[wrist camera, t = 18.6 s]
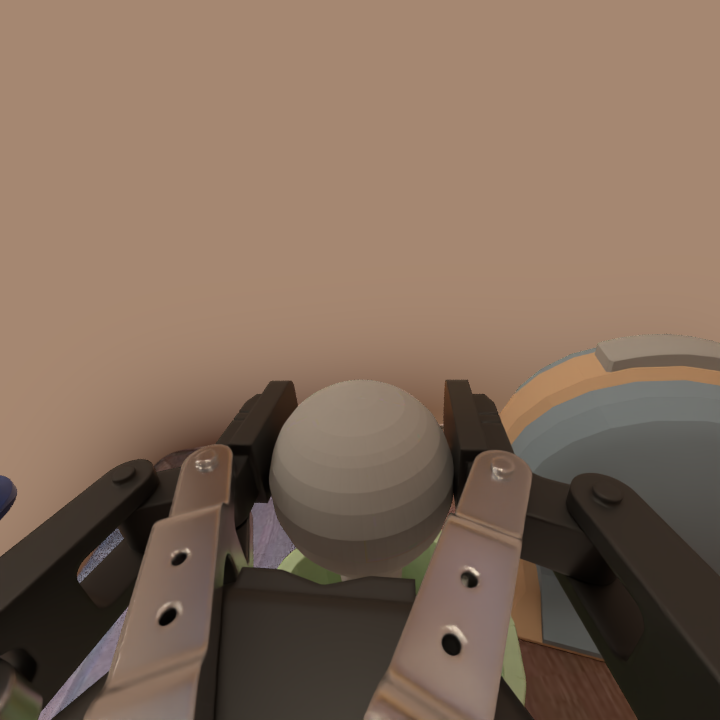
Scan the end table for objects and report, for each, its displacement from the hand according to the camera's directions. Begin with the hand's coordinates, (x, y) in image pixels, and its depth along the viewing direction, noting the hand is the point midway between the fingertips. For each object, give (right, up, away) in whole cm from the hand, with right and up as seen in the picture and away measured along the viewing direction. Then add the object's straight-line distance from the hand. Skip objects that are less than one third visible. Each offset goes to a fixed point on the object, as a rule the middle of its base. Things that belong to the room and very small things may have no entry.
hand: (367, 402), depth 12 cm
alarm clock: (+15, -14, +11) cm, 23 cm away
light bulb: (0, -8, +1) cm, 9 cm away
